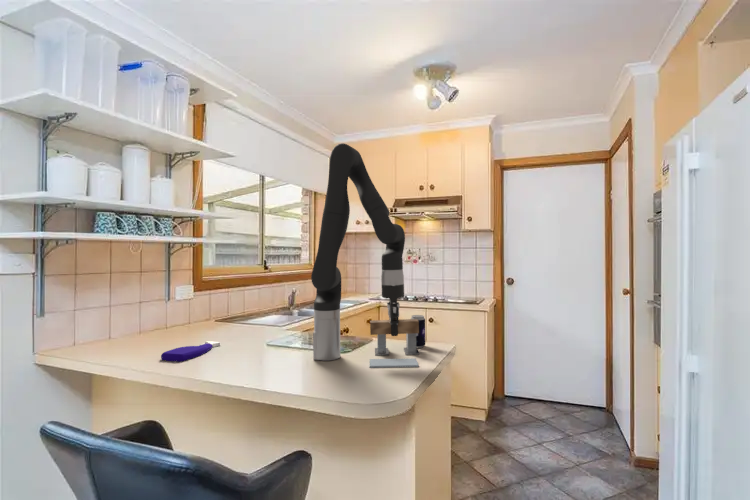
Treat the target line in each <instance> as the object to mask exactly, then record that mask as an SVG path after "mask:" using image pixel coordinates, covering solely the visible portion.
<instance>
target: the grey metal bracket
mask: <svg viewBox="0 0 750 500" xmlns="http://www.w3.org/2000/svg"><path fill="white" fill-rule="evenodd" d="M376 336H377V341H376V342H377V345H376V346H377V347H375V348H374V355H375V356H390V352H389V348H388V347H387V334H381V335H376Z"/></svg>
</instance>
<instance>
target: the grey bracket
mask: <svg viewBox="0 0 750 500" xmlns="http://www.w3.org/2000/svg"><path fill="white" fill-rule="evenodd" d="M405 335H406V336H405V337H406V338H405V339H406V340H405V341H406V345H405V347H403V351H404V354H405V356H419V355H420V351H419V348H417V347H416V333H412V334H405Z"/></svg>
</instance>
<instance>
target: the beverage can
mask: <svg viewBox="0 0 750 500" xmlns="http://www.w3.org/2000/svg"><path fill="white" fill-rule="evenodd" d="M410 319H417V320H418V321H419V333H416V347H417V349H420V348H421V349H422V348H424V347H425V345H426V318H425V315H423V314H413V315H411V318H410Z"/></svg>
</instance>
